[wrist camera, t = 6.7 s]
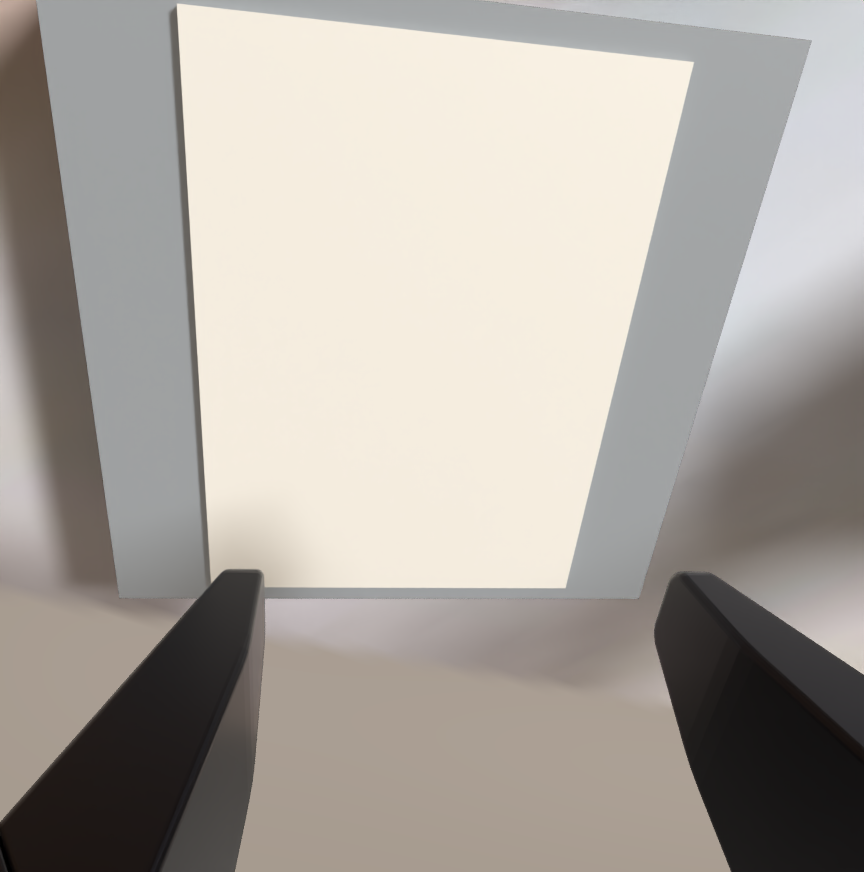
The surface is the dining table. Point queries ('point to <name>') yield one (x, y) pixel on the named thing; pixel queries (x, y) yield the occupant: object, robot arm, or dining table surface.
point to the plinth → (401, 282)
